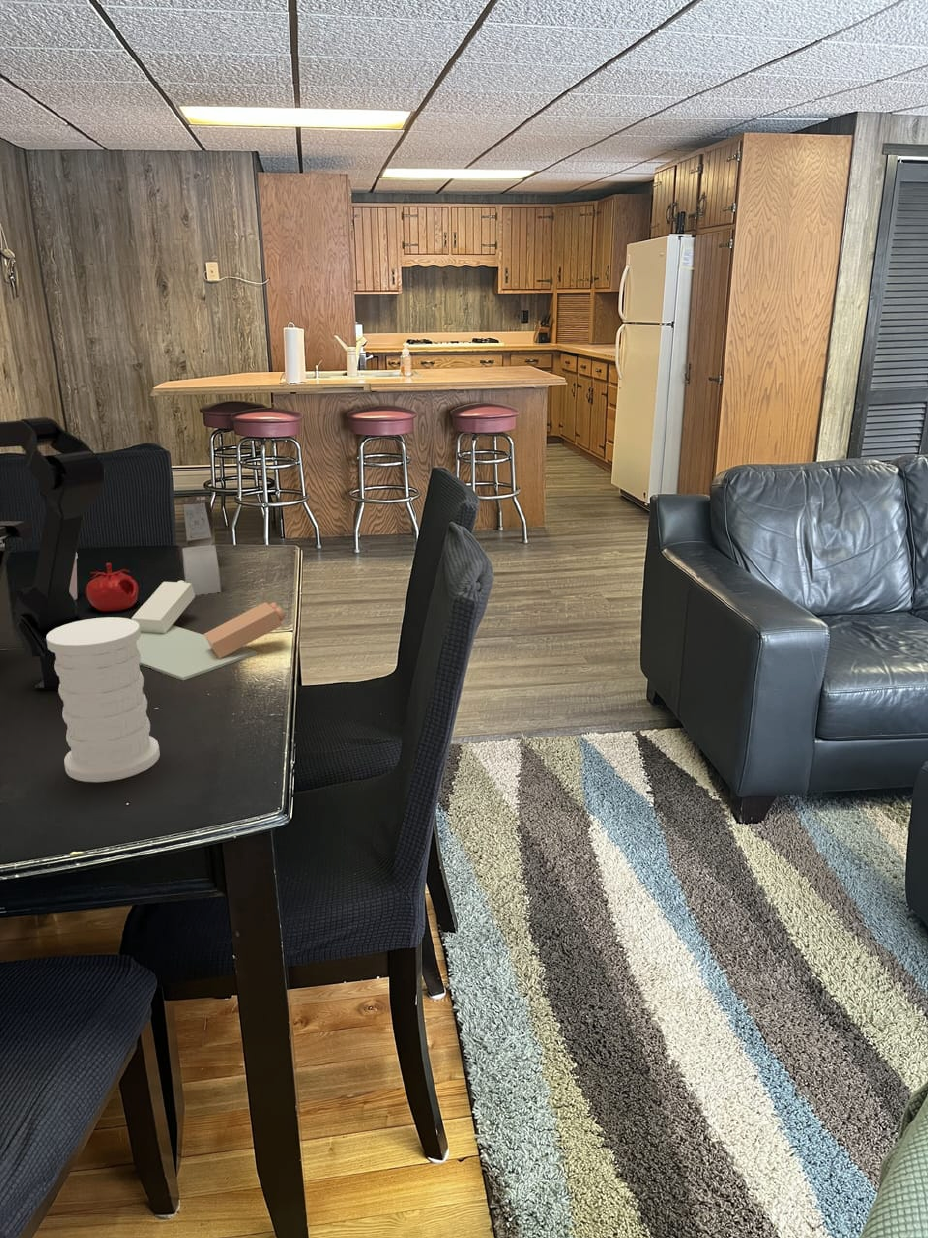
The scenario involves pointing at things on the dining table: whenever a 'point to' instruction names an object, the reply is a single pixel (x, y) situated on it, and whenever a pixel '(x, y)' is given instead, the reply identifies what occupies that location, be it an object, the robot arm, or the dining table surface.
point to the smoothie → (74, 580)
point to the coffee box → (198, 521)
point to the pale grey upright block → (202, 569)
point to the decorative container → (103, 699)
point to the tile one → (164, 606)
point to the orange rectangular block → (245, 628)
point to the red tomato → (112, 591)
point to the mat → (183, 653)
